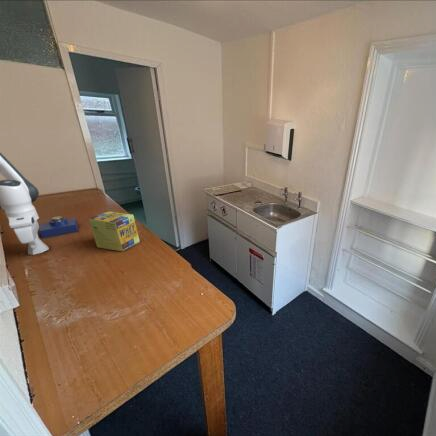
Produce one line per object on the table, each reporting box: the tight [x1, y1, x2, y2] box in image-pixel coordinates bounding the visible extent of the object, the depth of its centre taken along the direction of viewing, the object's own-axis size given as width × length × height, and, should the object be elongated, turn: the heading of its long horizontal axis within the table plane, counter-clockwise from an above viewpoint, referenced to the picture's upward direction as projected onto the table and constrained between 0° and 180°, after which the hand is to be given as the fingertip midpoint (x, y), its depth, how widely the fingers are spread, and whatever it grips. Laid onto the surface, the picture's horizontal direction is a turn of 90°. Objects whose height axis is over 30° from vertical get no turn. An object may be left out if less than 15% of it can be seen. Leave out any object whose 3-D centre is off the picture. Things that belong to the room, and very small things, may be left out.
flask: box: [27, 236, 50, 256], centre depth 107 cm, size 7×7×10 cm
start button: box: [51, 215, 63, 222], centre depth 127 cm, size 4×4×2 cm
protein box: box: [87, 211, 140, 252], centre depth 114 cm, size 10×15×16 cm
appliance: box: [38, 217, 79, 239], centre depth 127 cm, size 14×11×6 cm
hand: (35, 244), depth 108 cm, fingers open, 6 cm apart
